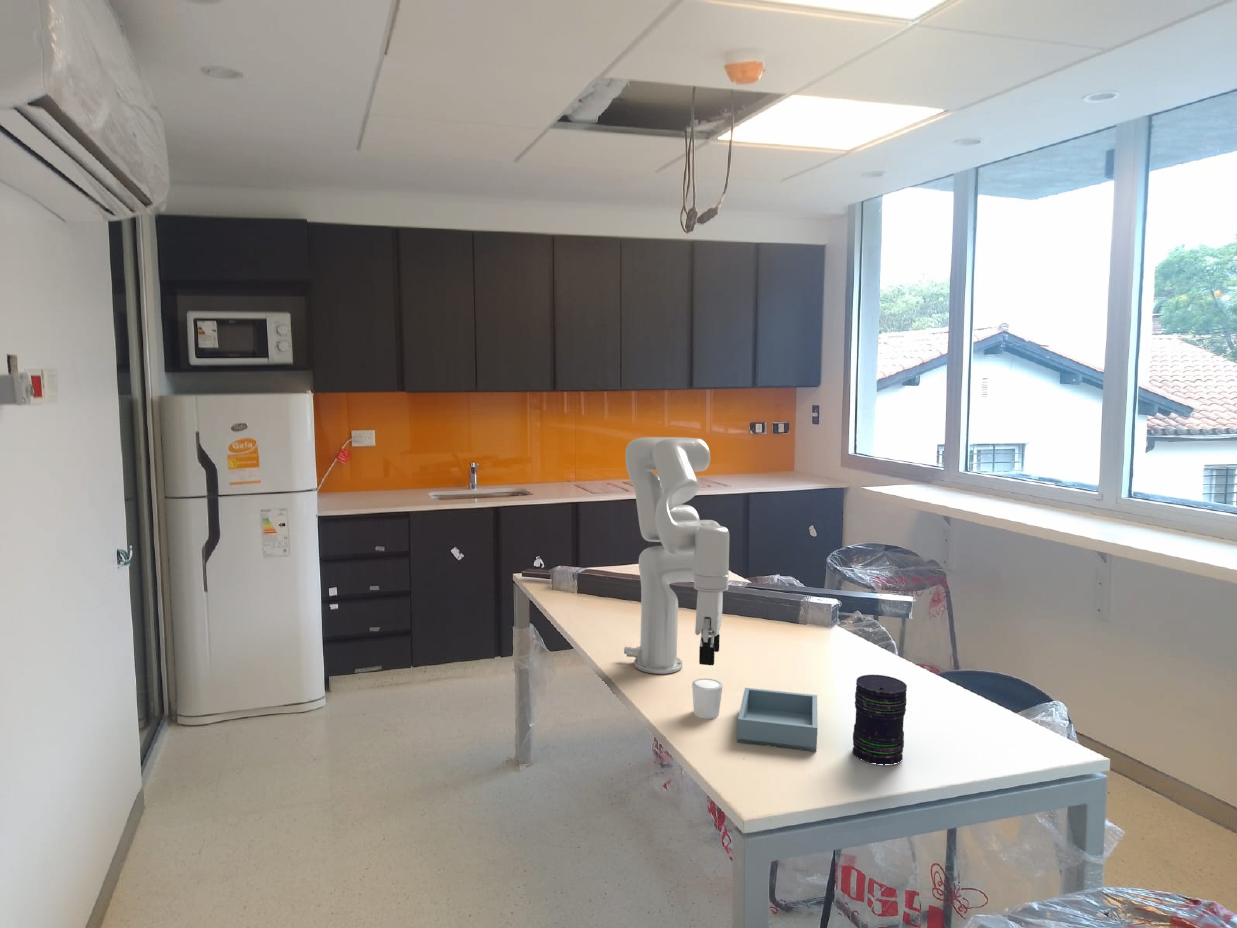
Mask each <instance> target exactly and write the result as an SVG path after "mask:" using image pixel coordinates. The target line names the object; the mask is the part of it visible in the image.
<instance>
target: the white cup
mask: <svg viewBox="0 0 1237 928" xmlns="http://www.w3.org/2000/svg"><path fill="white" fill-rule="evenodd" d="M723 685H724V684H723V683H722V682H721V681H719V680H717V679H712V678H697V679H694V680H693V681H692V683H691V688H692V703H693V704H692V705H693V707H692V708H693V715H695V716H696V717H698V718H699V719H705V720H706V719H716V718H718V717H719V716H720V707H721V701H722V693H723Z"/></svg>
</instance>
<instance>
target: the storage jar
mask: <svg viewBox="0 0 1237 928" xmlns="http://www.w3.org/2000/svg"><path fill="white" fill-rule="evenodd" d="M855 684H856V686H855V693H854V699H855V701H854V708H855V722H854V725H853V733H852V745H853V748H852V755H854V757H855V756H856V757H855V758H857V757H858V758H859V759H858V758H857V759H858V760H860V759H862V760H864V761H866V762H869V763H876V764H883V765H885V764H894V763H898V762H900V761H901V760H902V761H903V758H904V757H903V753H904V746H905V732H904V718H905V715H906V711H907V708H906V706H907V691H908V689H907V687H908V686H907V684H906V682H904V681H903V680H901V679H898V678H895V677H893V676H888V675H885V674H884V675H883V674H882V675H881V674H865V675H861V676H858V677H857V678H856V682H855ZM862 760H861V761H862ZM864 761H863V762H864ZM902 761H901V762H902ZM866 762H865V763H866ZM901 762H900V763H901ZM869 763H868V764H869Z"/></svg>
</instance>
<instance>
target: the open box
mask: <svg viewBox="0 0 1237 928" xmlns="http://www.w3.org/2000/svg"><path fill="white" fill-rule="evenodd" d="M737 717H738V718H737V731H736V743H742V744H748V743H749V745H759V746H765V745H770V746H769V747H773V746H776V747H775V748H781V747H782V748H783V749H790V750H791V749H793V750H798V749H802V750H801V751H807V750H808V751H807V752H815V751H816V752H817V747H818V744H817V743H818V695H817V694H811V693H799V692H791V691H790V692H789V691H780V690H771V689H763V688H751V687H744V690H743V695H742V699H741V703H740V709H739V712H738V716H737Z"/></svg>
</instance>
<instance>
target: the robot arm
mask: <svg viewBox="0 0 1237 928" xmlns="http://www.w3.org/2000/svg"><path fill="white" fill-rule="evenodd" d="M710 452H711V451H710V449H709V445H707V443H706V442H705V441H704V440H703V439H701V438H696V437H695V438H694V437H684V436H683V437H682V436H681V437H680V436H679V437H678V436H675V437H673V436H671V437H670V436H669V437H667V436H665V437H663V436H652V437H651V436H650V437H649V436H647V437H639V438H638V437H637V438H635V439H632V440H631V441H629V443H628V444H627V446H626V448H625V467H626V471H627V474H628V476H629V480H630V482H631V484H632V487H633V490H634V494H635V500H636V507H637V508H636V510H637V517H638V518H637V519H638V523H639V530H640V534H641V536H642V538H643V539H644V541H647V542H651V543H652V542H654V543H660V544H661V545H654V546H650V547H647V548H645V549H643V550H642V551H641V553H640V554H639V556H638V571H639V572H638V573H639V577H640V587H641V589H640V590H641V593H640V595H641V596H640V597H641V601H640V604H641V605H640V609H641V610H640V614H641V615H640V641H639V642H640V644H639V645H640V646H636V647H632V646H624V648H623V649H624V650H623V654H624V655H626V657H629V658H635V659H634V660H633V666H634V668H635V669H638V670H639V671H641V672H644V673H648V674H656V675H657V674H659V675H664V674H666V675H667V674H672V673H673V674H674V673H676V672H678V671H680V670H682V668H683V660H681V659H680V658H678V655H677V654H678V623H679V600H678V596H677V594H676V593H675V591H674V590H673V589H672V588H671V587H670V584H675V583H688V582H689V583H691V582H693V589H695V590H697V595H696V596H697V597H696V610H695V611H696V612H695V629H694V634H695V635H696V636H699V635H700V643H699V652H698V653H699V654H698V655H699V656H698V657H699V659H698V662H699V665H702V666H703V665H704V666H714V665H715V653H718V652H719V651H720V630H721V627H722V619H723V599H724V598H723V597H724V595H723V594H724V593H723V592H726V591H728V590H729V572H730V571H729V568H730V563H729V561H730V530H728V528H727V527H725V526H723V525H720V524H719V523H718V521H715V520H713V519H700V516H699V513H698V512H697V509H695V508H694V507H693V506H692V505H689V504H685V503H686V502H687V503H688V502H689V501H690V500H691V499H693V498H694V497H695V496H696V495H697V493H698V491H699V486H700V485H699V482H698V479H697V476H696V474H695V472H696V473H697V472H704V471H706V470H707V469H708V468H709V465H710V463H711V453H710ZM654 470H655V471H656V472H654Z"/></svg>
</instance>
